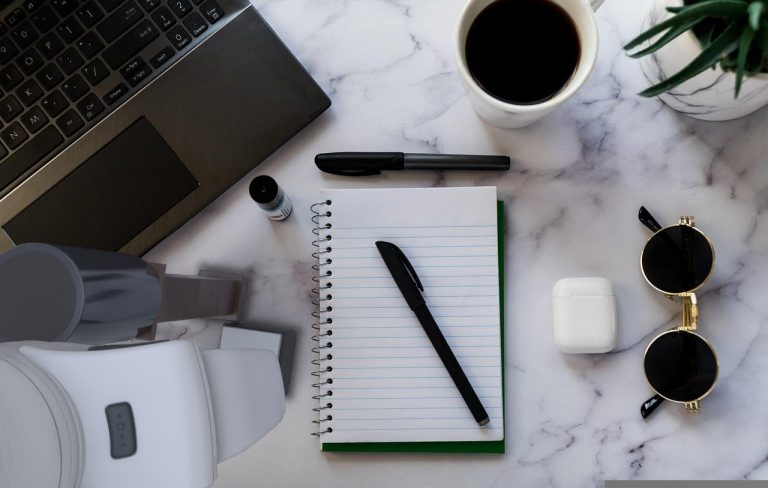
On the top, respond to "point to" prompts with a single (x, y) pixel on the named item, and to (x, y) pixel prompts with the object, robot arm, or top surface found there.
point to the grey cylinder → (75, 295)
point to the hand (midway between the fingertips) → (151, 398)
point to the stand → (197, 297)
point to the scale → (262, 344)
